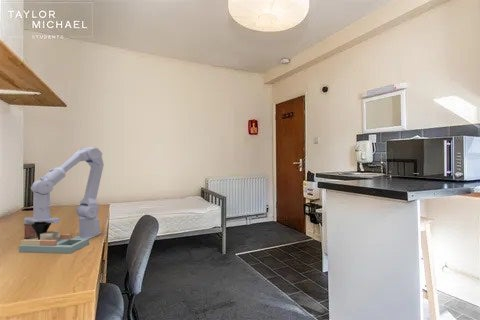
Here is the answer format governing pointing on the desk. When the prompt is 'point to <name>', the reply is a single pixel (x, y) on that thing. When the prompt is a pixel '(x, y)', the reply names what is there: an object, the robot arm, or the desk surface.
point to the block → (50, 235)
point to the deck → (54, 245)
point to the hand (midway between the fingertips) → (41, 239)
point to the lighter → (29, 231)
